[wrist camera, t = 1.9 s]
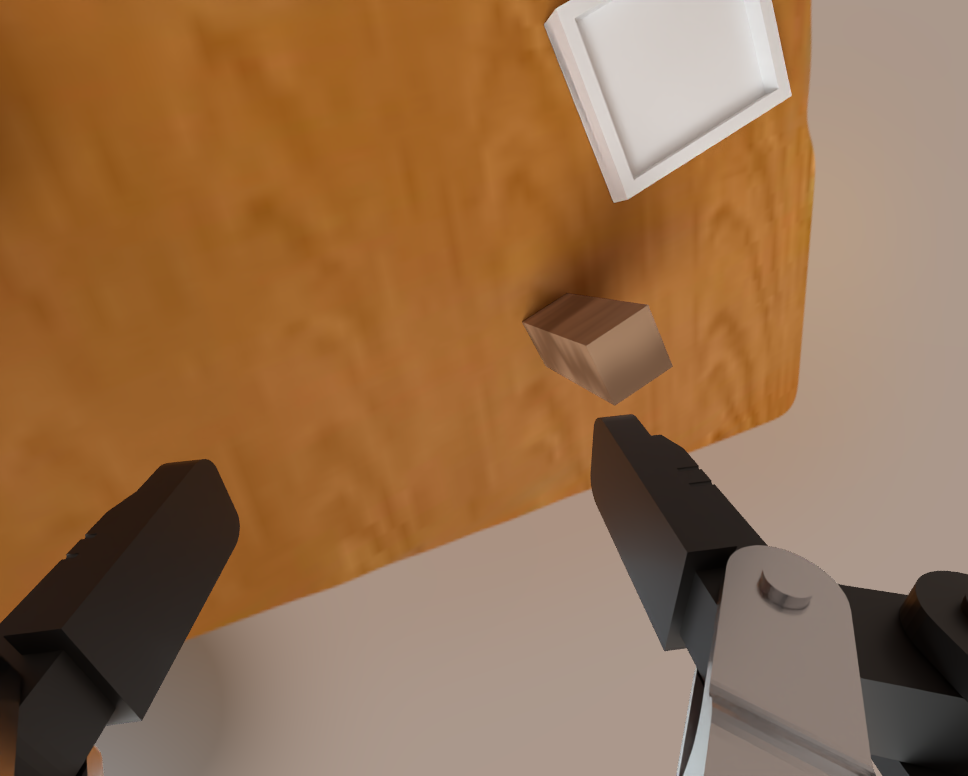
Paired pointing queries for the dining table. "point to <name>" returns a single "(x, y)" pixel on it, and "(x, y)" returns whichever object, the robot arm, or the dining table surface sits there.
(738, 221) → the dining table surface
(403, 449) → the dining table surface
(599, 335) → the brown wooden block
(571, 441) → the dining table surface
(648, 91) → the tray
